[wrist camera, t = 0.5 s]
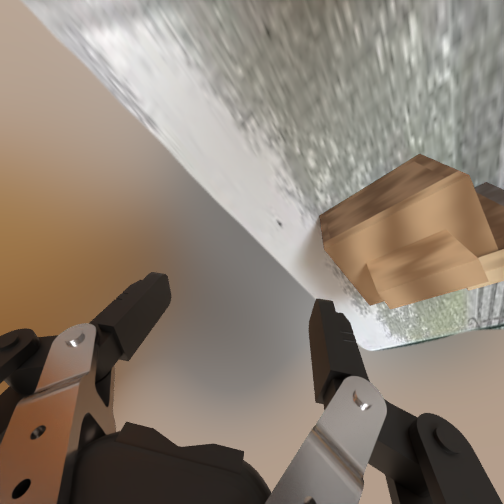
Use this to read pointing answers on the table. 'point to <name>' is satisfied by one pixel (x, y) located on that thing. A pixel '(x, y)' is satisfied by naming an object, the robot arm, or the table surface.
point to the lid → (418, 245)
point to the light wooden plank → (492, 268)
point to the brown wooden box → (400, 188)
